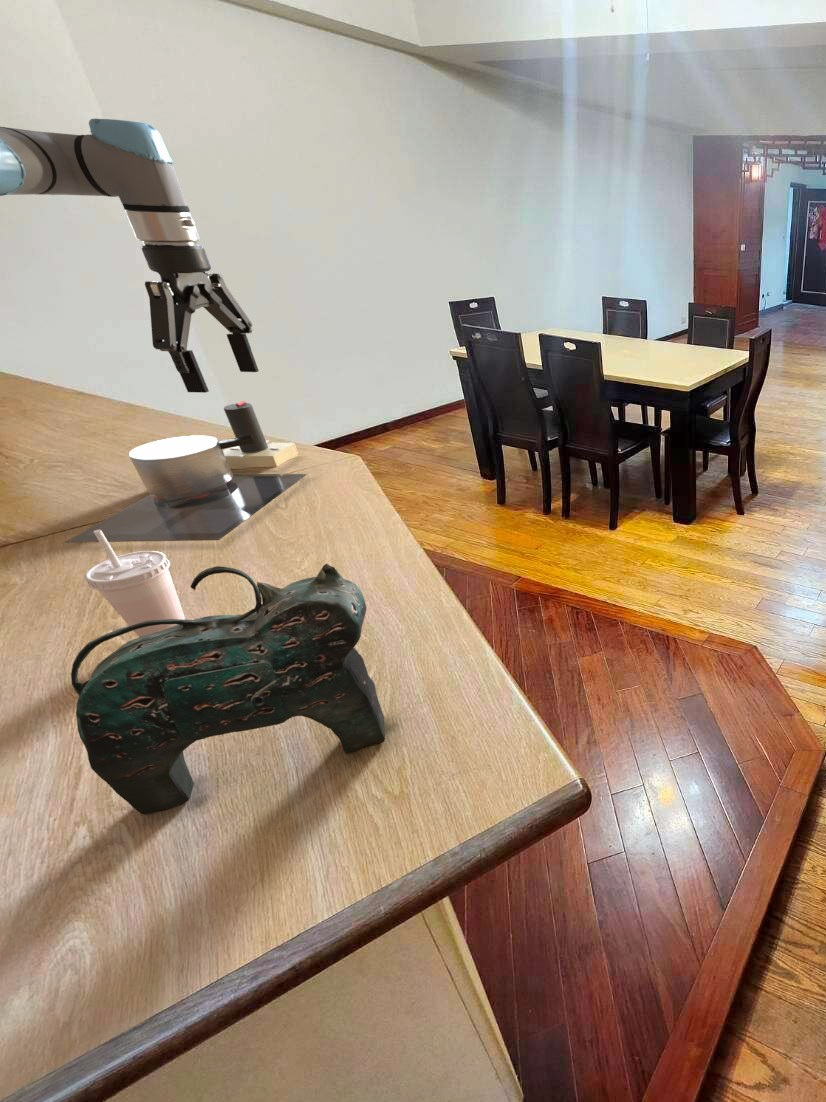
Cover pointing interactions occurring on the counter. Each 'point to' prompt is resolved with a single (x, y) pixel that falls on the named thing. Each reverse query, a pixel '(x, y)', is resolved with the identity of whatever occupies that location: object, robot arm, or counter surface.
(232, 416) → the dark grey cylinder
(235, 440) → the saucepan
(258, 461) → the cream base block
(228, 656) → the ceramic cat
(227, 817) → the counter surface
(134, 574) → the smoothie
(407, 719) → the counter surface
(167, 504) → the hob
